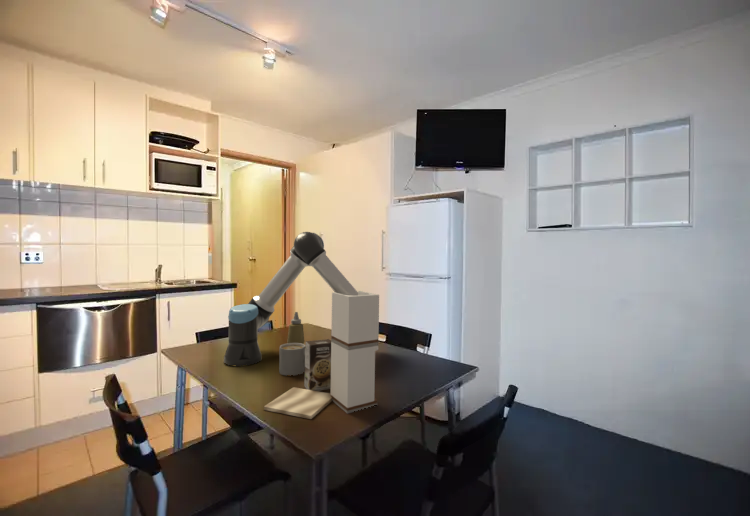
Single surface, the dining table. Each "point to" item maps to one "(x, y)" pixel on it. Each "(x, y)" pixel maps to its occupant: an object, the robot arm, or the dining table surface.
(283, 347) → the coffee mug
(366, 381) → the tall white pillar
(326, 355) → the coffee box
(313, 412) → the birch board
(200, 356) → the dining table surface
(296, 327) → the squeeze bottle
